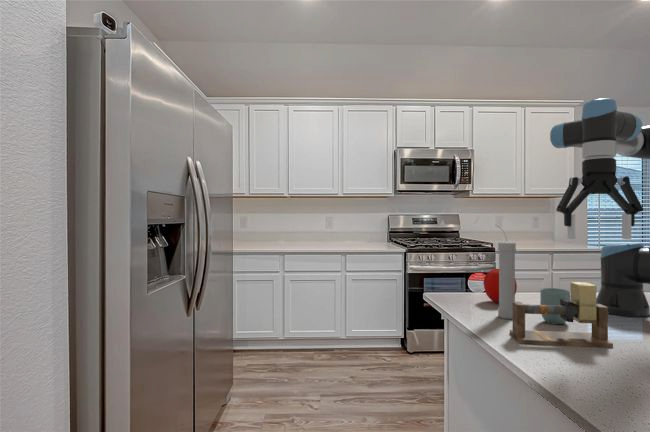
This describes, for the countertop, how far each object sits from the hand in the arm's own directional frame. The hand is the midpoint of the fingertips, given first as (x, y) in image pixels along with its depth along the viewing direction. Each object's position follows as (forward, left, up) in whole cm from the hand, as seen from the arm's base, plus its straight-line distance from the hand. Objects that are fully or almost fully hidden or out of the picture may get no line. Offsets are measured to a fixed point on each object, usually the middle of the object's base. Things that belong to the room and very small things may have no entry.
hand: (598, 239), depth 108 cm
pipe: (+18, -21, -27) cm, 39 cm away
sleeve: (+5, +2, -21) cm, 22 cm away
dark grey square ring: (+9, +2, -21) cm, 23 cm away
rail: (+11, +2, -27) cm, 29 cm away
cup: (+5, -16, -27) cm, 32 cm away
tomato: (+14, -43, -27) cm, 53 cm away
